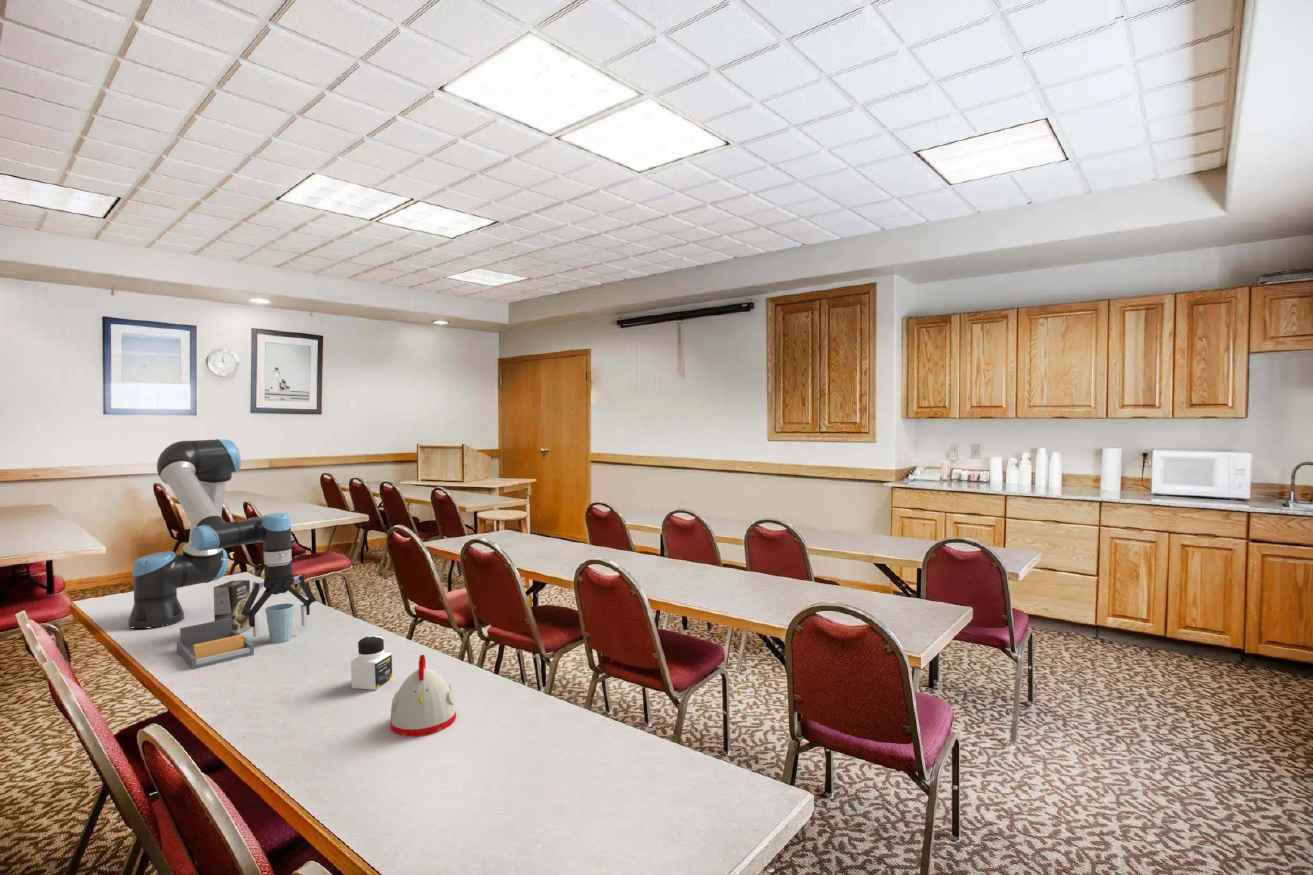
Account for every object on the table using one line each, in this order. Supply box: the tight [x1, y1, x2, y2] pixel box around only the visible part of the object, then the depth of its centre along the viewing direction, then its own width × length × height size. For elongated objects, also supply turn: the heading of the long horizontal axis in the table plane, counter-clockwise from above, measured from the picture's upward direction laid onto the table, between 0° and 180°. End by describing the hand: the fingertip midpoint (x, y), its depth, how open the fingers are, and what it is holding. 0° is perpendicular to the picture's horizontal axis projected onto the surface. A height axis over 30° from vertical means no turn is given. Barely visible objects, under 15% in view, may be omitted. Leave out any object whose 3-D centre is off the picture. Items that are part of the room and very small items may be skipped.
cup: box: [265, 603, 295, 644], centre depth 204 cm, size 8×8×10 cm
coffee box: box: [213, 579, 252, 634], centre depth 212 cm, size 9×6×16 cm
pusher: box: [193, 633, 245, 659], centre depth 191 cm, size 6×12×4 cm, turn 136°
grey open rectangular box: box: [176, 618, 255, 670], centre depth 193 cm, size 20×15×7 cm
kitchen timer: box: [390, 654, 457, 738], centre depth 147 cm, size 14×14×15 cm
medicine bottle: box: [350, 635, 393, 691], centre depth 168 cm, size 7×7×12 cm
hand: (280, 631), depth 204 cm, fingers open, 13 cm apart
